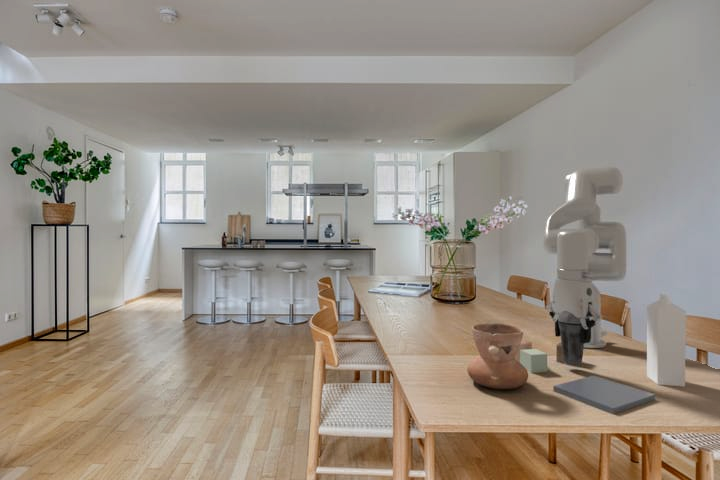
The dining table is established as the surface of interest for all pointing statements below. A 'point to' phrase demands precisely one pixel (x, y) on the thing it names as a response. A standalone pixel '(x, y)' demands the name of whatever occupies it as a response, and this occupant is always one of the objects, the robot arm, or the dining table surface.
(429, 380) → the dining table surface
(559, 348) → the walnut block
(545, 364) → the sage block
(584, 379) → the slate board
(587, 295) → the robot arm
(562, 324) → the beverage cup
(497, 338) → the ceramic jug
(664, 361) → the milk
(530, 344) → the peach rounded capsule
